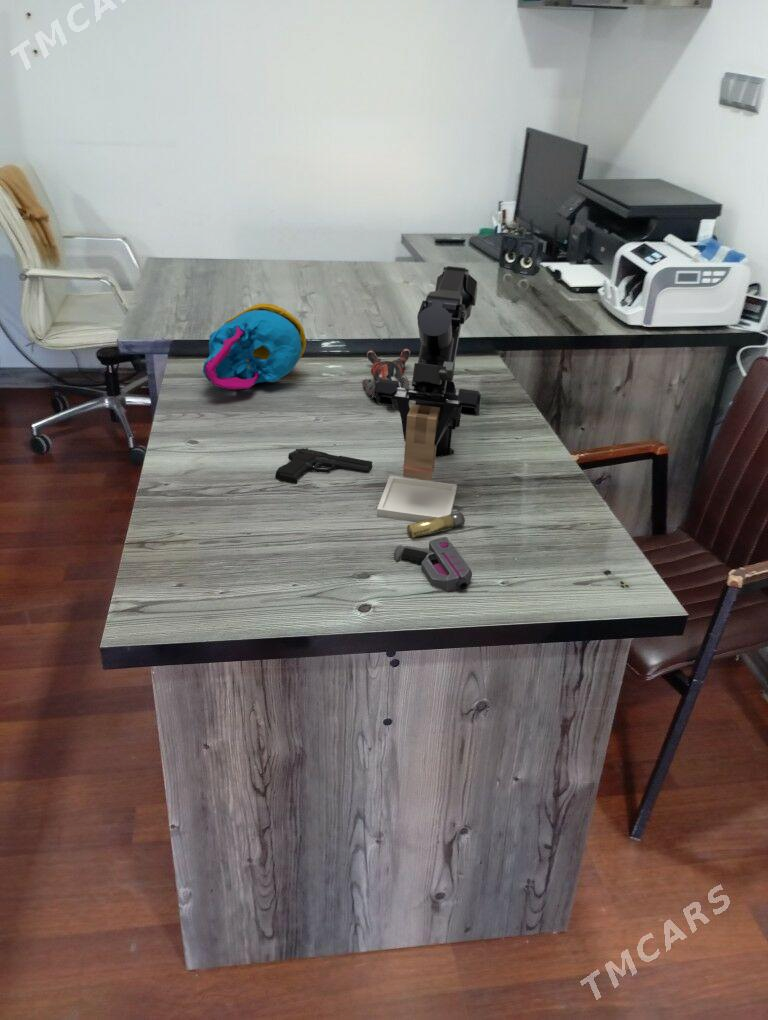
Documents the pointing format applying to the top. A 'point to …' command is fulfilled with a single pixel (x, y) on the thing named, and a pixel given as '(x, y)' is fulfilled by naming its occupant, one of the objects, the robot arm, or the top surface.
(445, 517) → the bullet cartridge
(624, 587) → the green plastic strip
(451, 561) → the toy gun
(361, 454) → the top surface
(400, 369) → the action figure
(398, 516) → the tray
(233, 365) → the anatomical model
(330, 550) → the top surface
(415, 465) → the brown tall hollow block
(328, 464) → the handgun
